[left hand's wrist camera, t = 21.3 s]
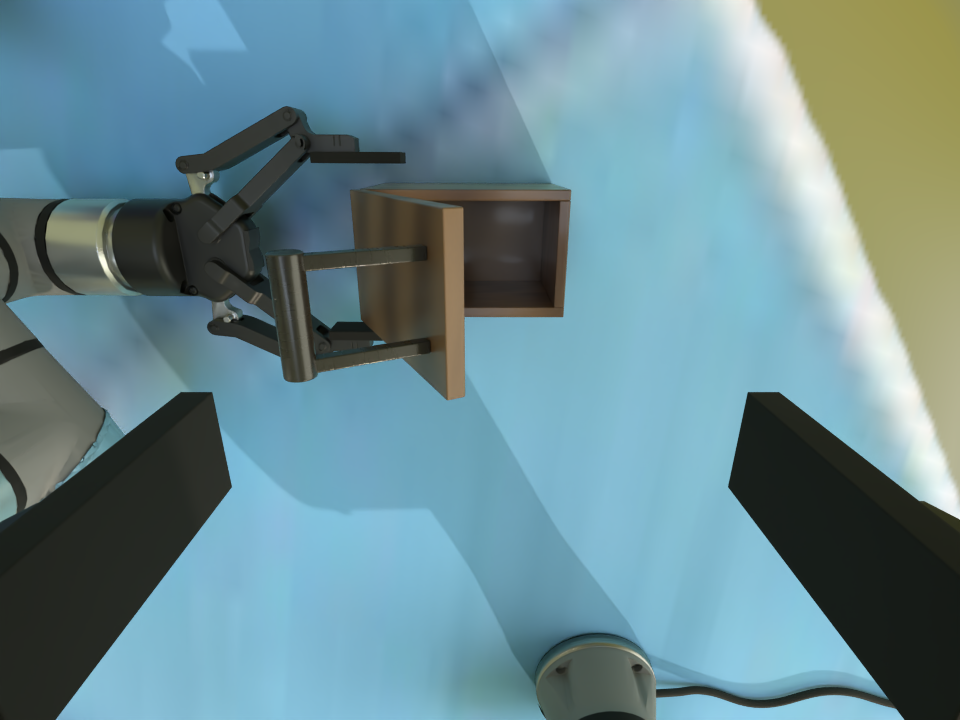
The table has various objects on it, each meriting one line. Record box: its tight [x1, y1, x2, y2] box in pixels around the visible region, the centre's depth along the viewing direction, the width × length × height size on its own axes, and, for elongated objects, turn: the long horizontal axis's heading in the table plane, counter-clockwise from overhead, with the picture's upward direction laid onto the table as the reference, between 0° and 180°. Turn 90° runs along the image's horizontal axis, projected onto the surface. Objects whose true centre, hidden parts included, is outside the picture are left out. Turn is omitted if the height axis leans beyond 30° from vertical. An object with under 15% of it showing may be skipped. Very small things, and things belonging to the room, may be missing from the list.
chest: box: [360, 183, 571, 317], centre depth 42 cm, size 15×9×10 cm, turn 90°
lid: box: [265, 190, 465, 400], centre depth 29 cm, size 16×9×8 cm
